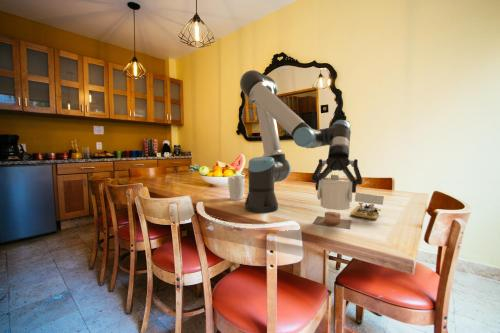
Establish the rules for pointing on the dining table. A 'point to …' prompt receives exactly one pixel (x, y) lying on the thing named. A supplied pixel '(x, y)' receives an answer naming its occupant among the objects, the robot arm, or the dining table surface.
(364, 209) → the cake
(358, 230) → the dining table surface
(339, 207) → the pot with lid
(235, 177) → the cup
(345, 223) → the board
